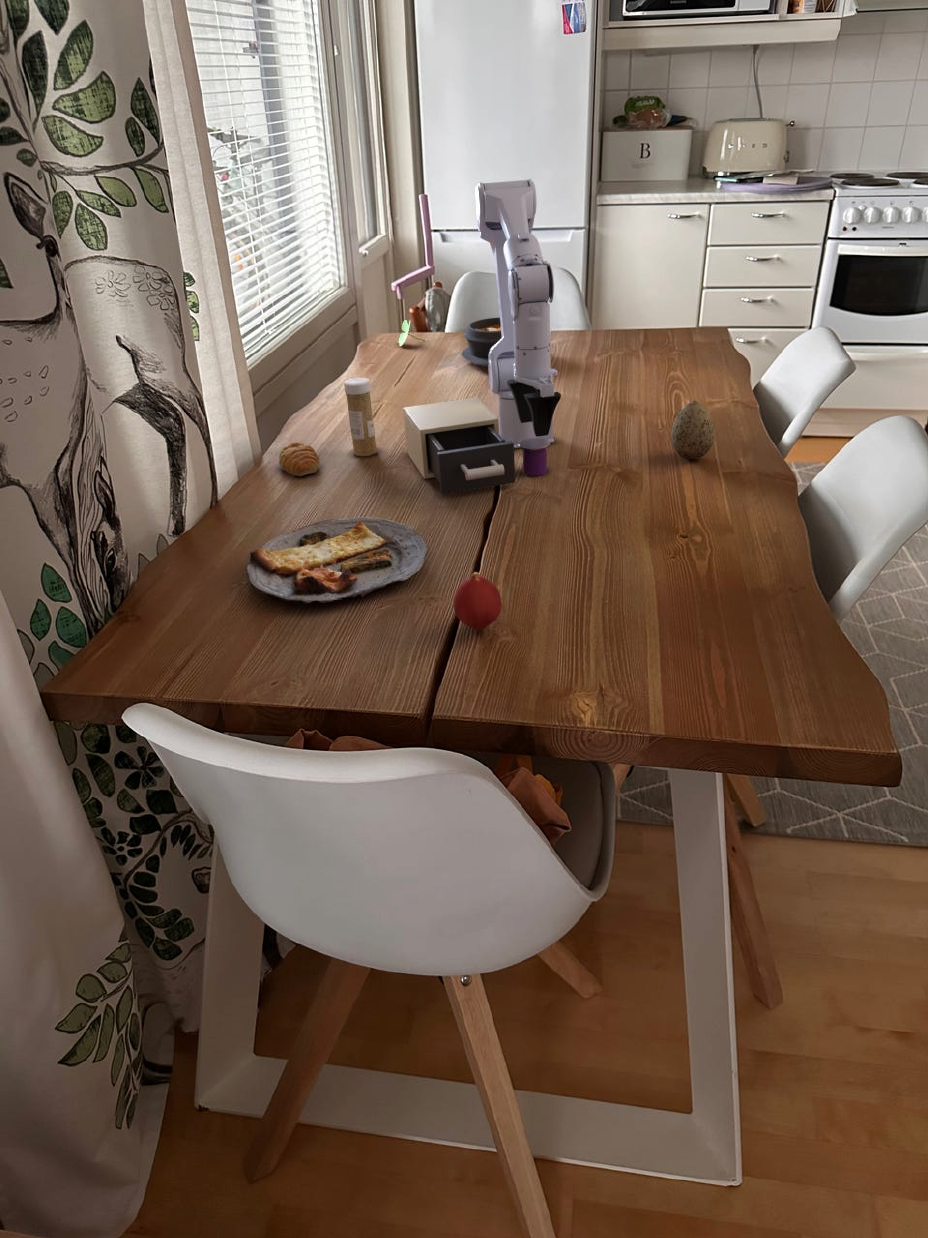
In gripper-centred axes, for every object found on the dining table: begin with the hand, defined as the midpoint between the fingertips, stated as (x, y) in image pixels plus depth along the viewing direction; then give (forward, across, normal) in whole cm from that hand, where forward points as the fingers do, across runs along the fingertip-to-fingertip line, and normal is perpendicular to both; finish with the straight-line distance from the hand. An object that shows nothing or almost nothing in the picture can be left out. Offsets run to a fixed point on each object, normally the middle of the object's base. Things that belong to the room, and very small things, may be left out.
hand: (534, 428), depth 154 cm
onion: (+8, -47, +24) cm, 53 cm away
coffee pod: (+8, 0, 0) cm, 8 cm away
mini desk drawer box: (+8, +12, +12) cm, 18 cm away
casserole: (+8, +73, -16) cm, 75 cm away
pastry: (+8, +19, +38) cm, 43 cm away
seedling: (+7, +100, -4) cm, 100 cm away
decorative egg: (+8, -5, -26) cm, 28 cm away
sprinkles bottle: (+8, +22, +26) cm, 35 cm away
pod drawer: (+7, -2, +11) cm, 13 cm away
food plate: (+8, -24, +38) cm, 45 cm away
